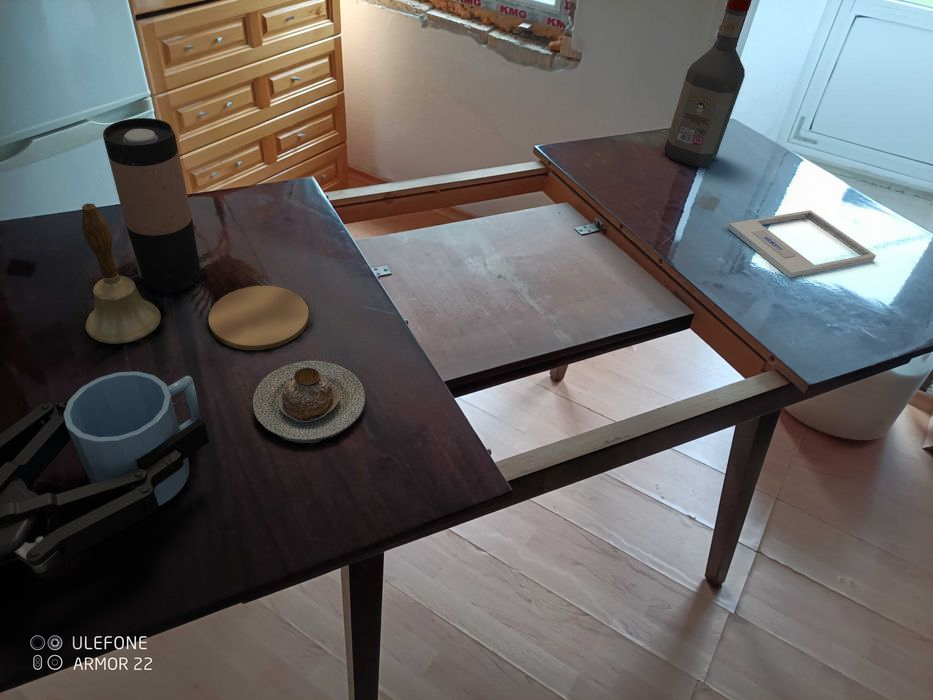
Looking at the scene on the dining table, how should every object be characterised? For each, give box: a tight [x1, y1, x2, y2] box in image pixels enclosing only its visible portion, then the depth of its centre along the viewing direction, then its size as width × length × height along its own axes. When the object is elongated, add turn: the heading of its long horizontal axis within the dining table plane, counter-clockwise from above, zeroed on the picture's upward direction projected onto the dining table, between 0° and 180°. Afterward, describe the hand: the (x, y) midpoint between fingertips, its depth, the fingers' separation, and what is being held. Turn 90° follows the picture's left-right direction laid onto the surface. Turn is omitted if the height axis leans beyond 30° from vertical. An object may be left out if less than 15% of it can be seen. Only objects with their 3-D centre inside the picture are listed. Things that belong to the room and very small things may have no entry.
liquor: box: [663, 0, 753, 168], centre depth 125 cm, size 9×9×30 cm
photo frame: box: [727, 209, 877, 279], centre depth 111 cm, size 15×1×18 cm
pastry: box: [252, 360, 366, 444], centre depth 74 cm, size 12×12×5 cm
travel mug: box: [102, 117, 201, 293], centre depth 84 cm, size 8×8×20 cm
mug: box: [64, 371, 203, 507], centre depth 64 cm, size 11×8×10 cm
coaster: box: [207, 285, 310, 351], centre depth 85 cm, size 12×12×1 cm
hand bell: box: [81, 202, 162, 345], centre depth 77 cm, size 8×8×16 cm
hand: (172, 407), depth 65 cm, fingers closed on mug, 8 cm apart
